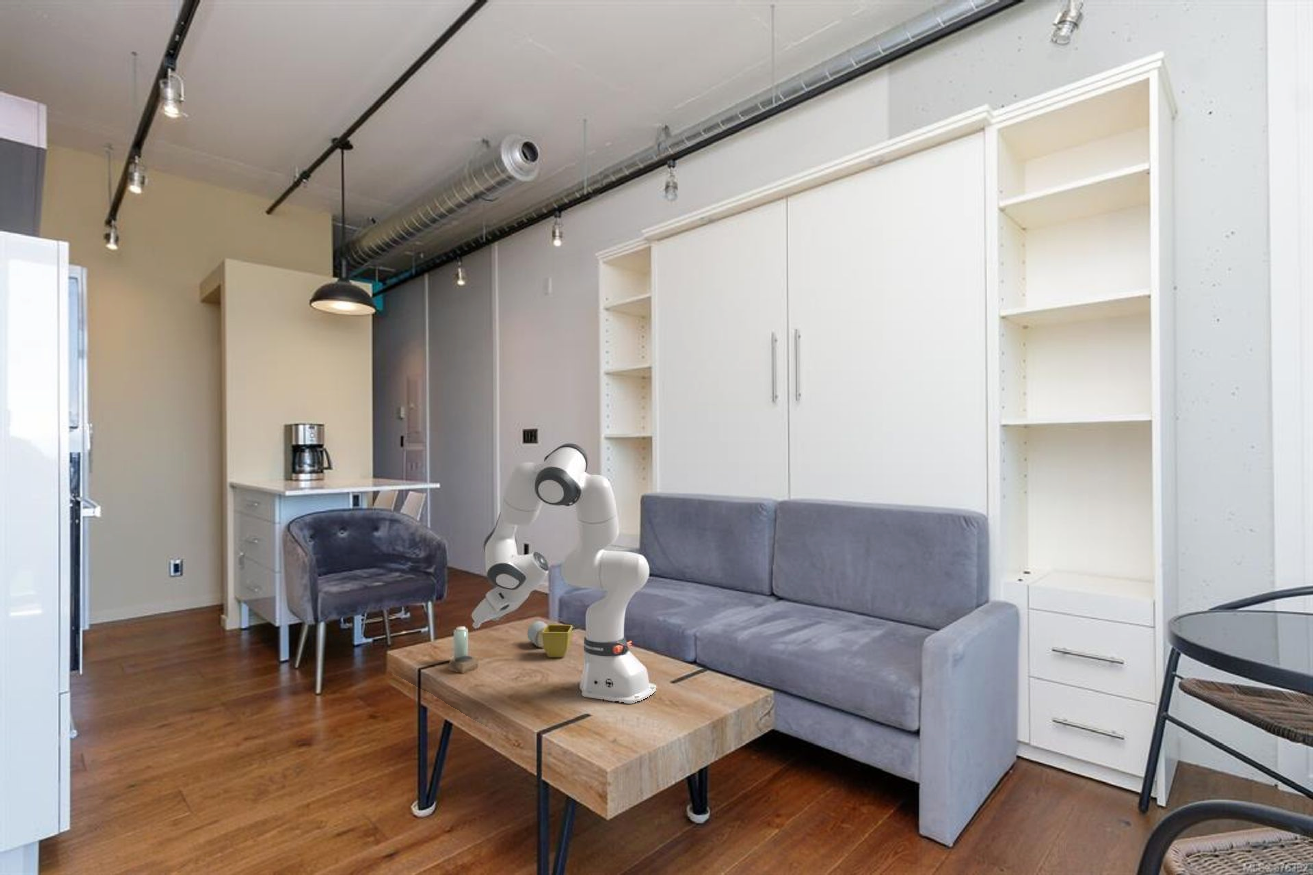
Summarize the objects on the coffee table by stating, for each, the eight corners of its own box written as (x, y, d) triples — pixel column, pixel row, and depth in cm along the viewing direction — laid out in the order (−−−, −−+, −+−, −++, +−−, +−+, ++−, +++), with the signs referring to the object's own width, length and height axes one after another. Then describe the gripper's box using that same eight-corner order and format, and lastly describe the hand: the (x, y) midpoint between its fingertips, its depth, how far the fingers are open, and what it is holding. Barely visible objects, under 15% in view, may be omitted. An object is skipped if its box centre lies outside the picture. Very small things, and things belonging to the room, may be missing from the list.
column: (470, 660, 208) (470, 627, 208) (460, 664, 204) (460, 630, 204) (461, 658, 210) (461, 625, 211) (450, 662, 207) (450, 628, 207)
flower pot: (568, 660, 209) (568, 632, 209) (541, 659, 209) (541, 632, 210) (572, 651, 218) (572, 624, 218) (546, 651, 218) (546, 624, 218)
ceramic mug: (535, 650, 219) (535, 627, 219) (526, 644, 226) (527, 622, 226) (564, 646, 225) (564, 623, 225) (555, 640, 232) (555, 618, 232)
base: (477, 668, 201) (477, 658, 201) (462, 673, 196) (462, 663, 196) (464, 664, 204) (464, 654, 204) (449, 670, 199) (449, 659, 199)
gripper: (524, 580, 209) (499, 607, 213) (484, 592, 191) (457, 622, 194) (536, 595, 208) (510, 622, 211) (496, 609, 189) (469, 639, 192)
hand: (484, 622), depth 203 cm, fingers open, 8 cm apart
